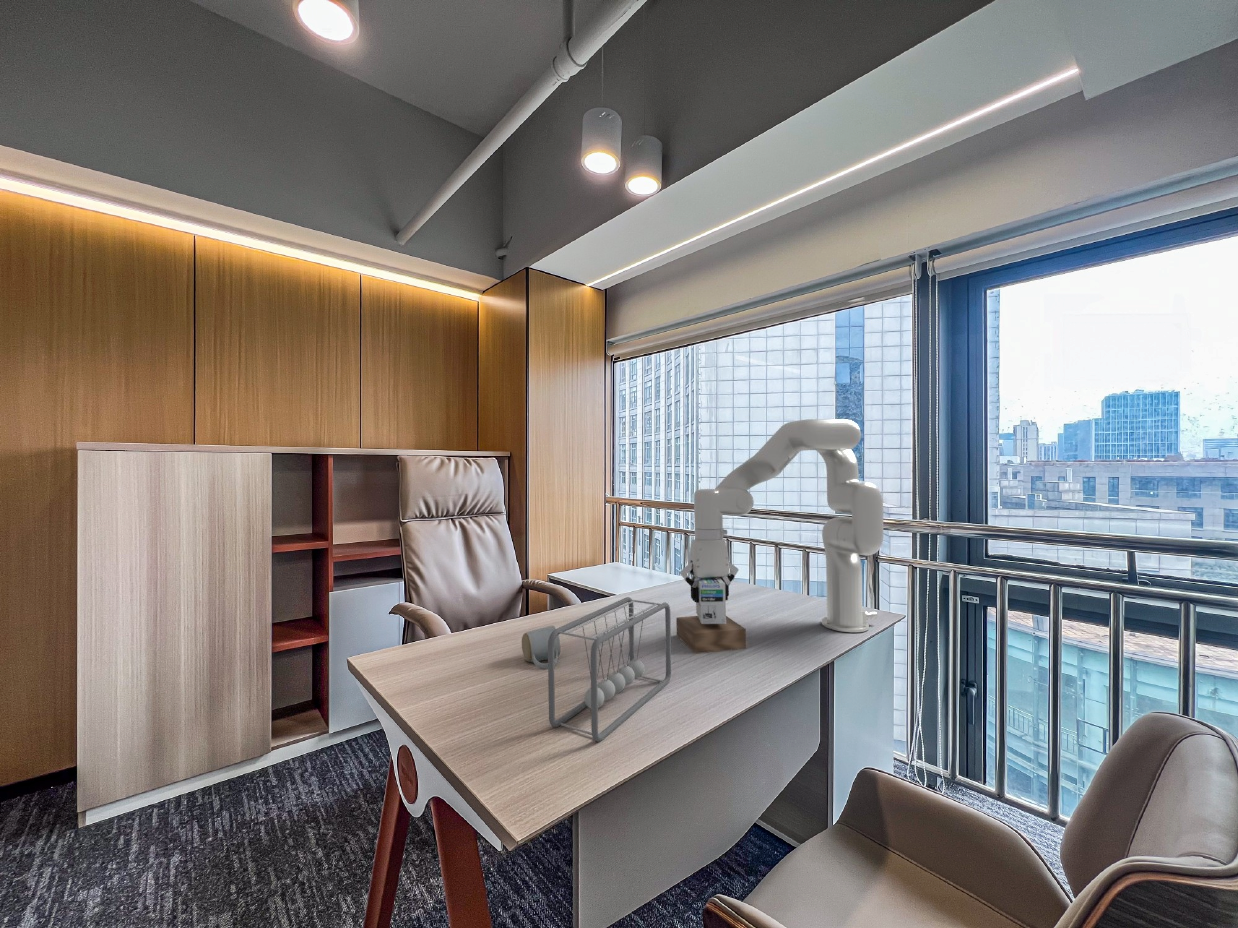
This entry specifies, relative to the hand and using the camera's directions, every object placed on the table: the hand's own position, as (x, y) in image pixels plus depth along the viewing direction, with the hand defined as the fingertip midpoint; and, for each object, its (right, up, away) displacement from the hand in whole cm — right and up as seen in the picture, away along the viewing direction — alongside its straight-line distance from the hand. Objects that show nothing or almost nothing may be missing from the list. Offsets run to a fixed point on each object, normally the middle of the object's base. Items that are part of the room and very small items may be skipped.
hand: (710, 599), depth 133 cm
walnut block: (0, -11, 0) cm, 11 cm away
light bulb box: (0, -5, 0) cm, 5 cm away
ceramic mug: (-43, -12, -12) cm, 46 cm away
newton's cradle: (-25, -11, -34) cm, 44 cm away
